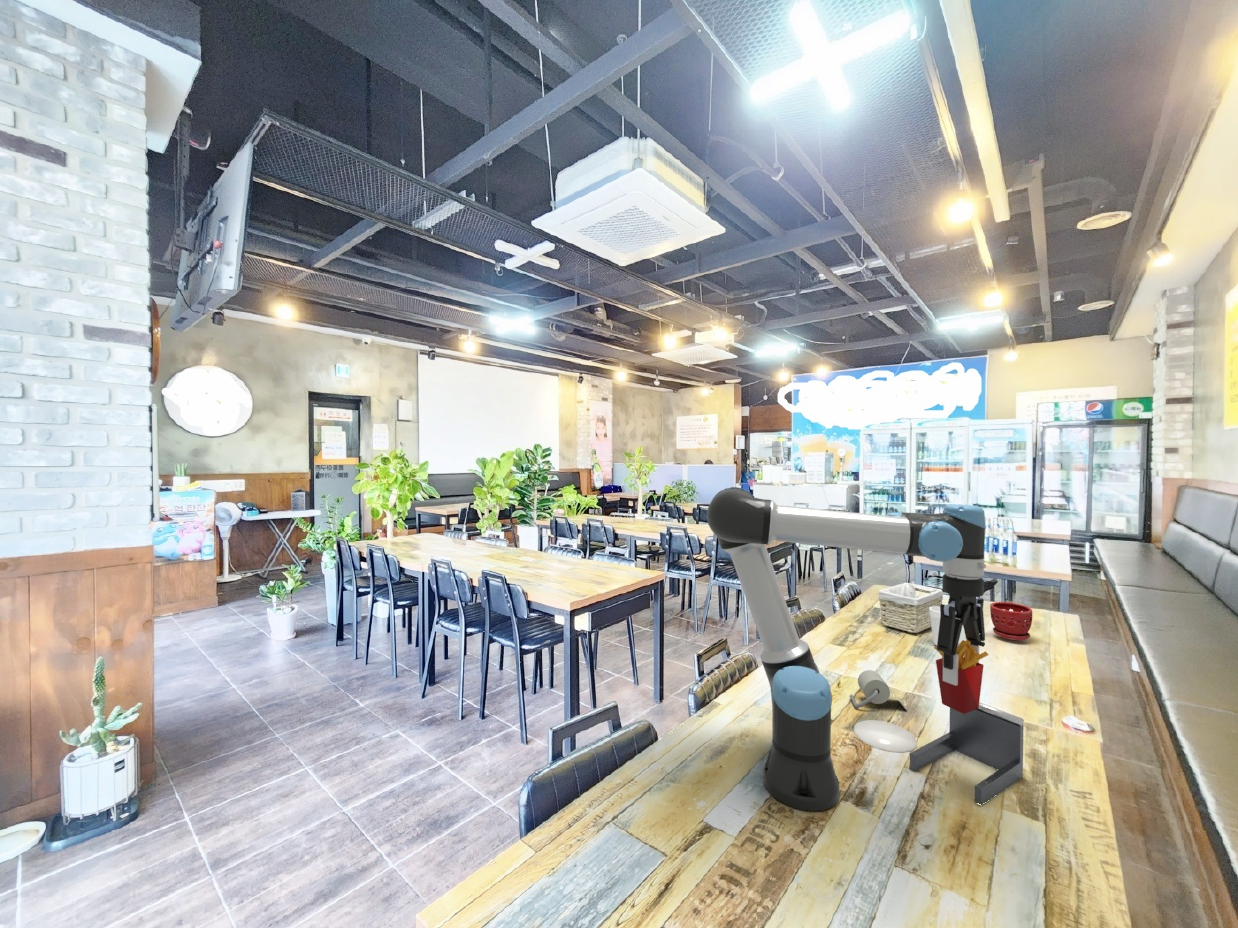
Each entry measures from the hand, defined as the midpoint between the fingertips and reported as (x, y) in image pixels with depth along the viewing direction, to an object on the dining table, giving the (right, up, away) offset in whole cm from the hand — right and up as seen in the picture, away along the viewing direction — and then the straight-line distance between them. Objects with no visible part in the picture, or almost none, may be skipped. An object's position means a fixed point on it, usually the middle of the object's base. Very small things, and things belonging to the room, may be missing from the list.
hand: (960, 677), depth 112 cm
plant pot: (+78, -21, +88) cm, 120 cm away
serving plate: (-8, -22, +16) cm, 29 cm away
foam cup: (+47, -21, +80) cm, 95 cm away
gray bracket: (+2, -22, +2) cm, 22 cm away
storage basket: (+48, -21, +103) cm, 115 cm away
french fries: (+1, -6, 0) cm, 7 cm away
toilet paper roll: (+1, -25, +33) cm, 41 cm away
